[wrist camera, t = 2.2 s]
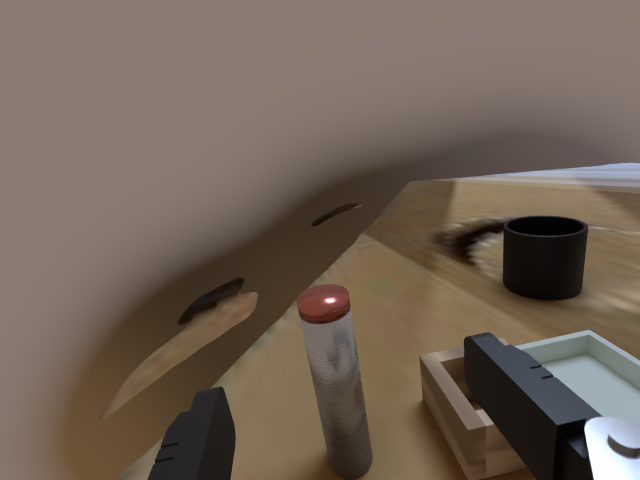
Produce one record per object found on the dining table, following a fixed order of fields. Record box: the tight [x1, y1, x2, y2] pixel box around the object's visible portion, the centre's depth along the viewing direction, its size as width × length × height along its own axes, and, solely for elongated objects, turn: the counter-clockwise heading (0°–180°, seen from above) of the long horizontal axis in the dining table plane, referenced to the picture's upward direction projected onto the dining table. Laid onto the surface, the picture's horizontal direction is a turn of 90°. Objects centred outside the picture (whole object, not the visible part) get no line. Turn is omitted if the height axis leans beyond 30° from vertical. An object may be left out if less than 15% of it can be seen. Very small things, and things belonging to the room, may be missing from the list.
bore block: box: [420, 338, 528, 480], centre depth 27 cm, size 8×8×5 cm
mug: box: [503, 216, 588, 299], centre depth 46 cm, size 9×12×9 cm
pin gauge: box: [297, 284, 372, 479], centre depth 24 cm, size 4×4×15 cm
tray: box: [514, 330, 640, 427], centre depth 28 cm, size 10×10×3 cm
